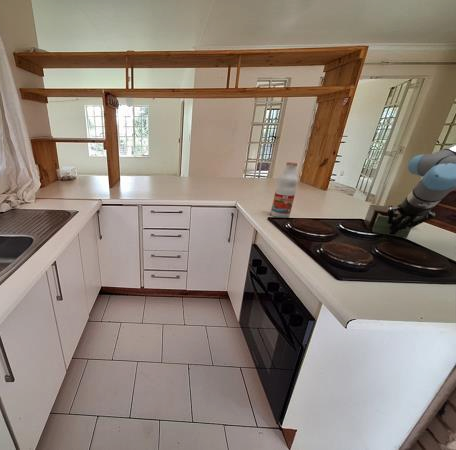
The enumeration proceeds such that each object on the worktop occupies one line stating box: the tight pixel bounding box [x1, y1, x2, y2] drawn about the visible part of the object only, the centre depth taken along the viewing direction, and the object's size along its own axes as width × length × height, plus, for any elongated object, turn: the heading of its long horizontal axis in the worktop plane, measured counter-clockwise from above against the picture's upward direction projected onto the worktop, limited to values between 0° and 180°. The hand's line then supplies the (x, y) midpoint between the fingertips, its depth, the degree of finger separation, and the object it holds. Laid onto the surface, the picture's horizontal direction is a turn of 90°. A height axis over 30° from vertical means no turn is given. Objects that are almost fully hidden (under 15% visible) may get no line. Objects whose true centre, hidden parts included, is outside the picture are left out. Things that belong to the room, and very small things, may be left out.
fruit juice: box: [270, 161, 299, 219], centre depth 123 cm, size 9×9×28 cm
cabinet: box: [363, 203, 400, 231], centre depth 113 cm, size 15×13×10 cm
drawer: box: [371, 212, 412, 239], centre depth 107 cm, size 15×11×8 cm
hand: (392, 231), depth 101 cm, fingers closed
